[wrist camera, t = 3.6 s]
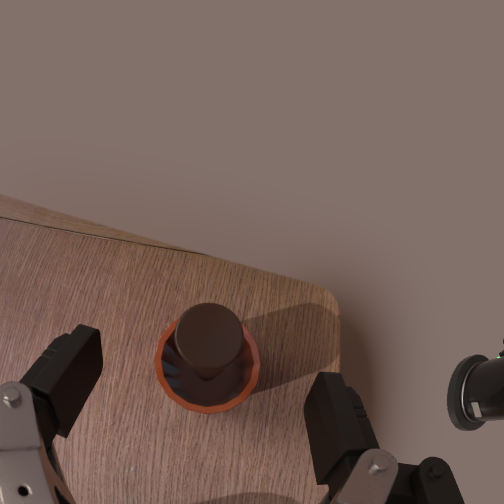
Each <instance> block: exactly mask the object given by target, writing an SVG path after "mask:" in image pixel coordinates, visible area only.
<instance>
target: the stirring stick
mask: <svg viewBox="0 0 504 504" xmlns="http://www.w3.org/2000/svg"><path fill="white" fill-rule="evenodd" d="M174 339H175V345H176V348H177V350H178V352H179V354H180V355H181V357H182V358H183V359H184V360H185V362H186V363H187V364H188V365H189V366H190V367H191V369H192V370H193V371H194V372H195V373H196V374H197V375H198V376H199V377H200V378H201V379H204V380H211V379H213V378H215V377H216V376H217V375H218V374H220V373H221V372H222V371H223V370H224V369H225V368H227V367H228V366H229V365H230V364H231V363H232V362H234V361H235V360H236V358H237V357H238V356H239V354H240V352H241V350H242V347H243V344H244V331H243V327H242V325H241V322H240V321H239V319H238V318H237V316H236V315H235V314H234V313H233V312H232V311H231V310H229V309H228V308H226V307H224V306H222V305H219V304H215V303H202V304H198V305H195V306H193V307H191V308H189V309H188V310H186V311H185V312H184V313H183V314H182V316H181V317H180V318H179V320H178V322H177V324H176V327H175V332H174Z"/></svg>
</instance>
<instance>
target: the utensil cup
mask: <svg viewBox="0 0 504 504" xmlns="http://www.w3.org/2000/svg"><path fill="white" fill-rule="evenodd" d="M178 320H179V319H177V320H176V321H174V322H172V323H171V324H170V325H169V326H168V328H167V329H166V330H165V332H164V333H163V334H162V335H161V337H160V338H159V340H158V344H157V348H156V352H155V356H154V363H155V369H156V375H157V379H158V381H159V383H160V384H161V386H162V388H163V389H164V391H165V392H166V394H167V395H168V396H169V398H171V399H172V400H173V401H175V402H176V403H178V404H179V405H181V406H182V407H183V408H185V409H187V410H191V411H195V412H199V413H204V414H212V413H218V412H224V411H228V410H230V409H232V408H233V407H235V406H237V405H238V404H240V403H241V402H243V401H244V400H246V399H247V397H248V396H249V394H250V393H251V391H252V390H253V389H254V387H255V386H256V384H257V382H258V377H259V372H260V366H261V360H260V355H259V351H258V346H257V343H256V341H255V340H254V338H253V337H252V335H251V334H250V333H249V331H248V330H247V328H246V327H245V326H244V325H242V324H241V325H242V327H243V331H244V344H243V347H242V350H241V352H240V354H239V356H238V357H237V358H236V360H235V361H234V362H232V363H231V364H230V365H229V366H228V367H227V368H225V369H224V370H223V371H222V372H221V373H220V374H218V375H217V376H216V377H215V378H213V379H211V380H204V379H201V378H200V377H199V376H198V375H197V374H196V373H195V372H194V371H193V370H192V369H191V367H190V366H189V365H188V364H187V363H186V362H185V360H184V359H183V358H182V357H181V355H180V354H179V352H178V350H177V348H176V345H175V339H174V332H175V327H176V324H177V322H178Z"/></svg>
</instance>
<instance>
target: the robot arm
mask: <svg viewBox="0 0 504 504" xmlns="http://www.w3.org/2000/svg"><path fill="white" fill-rule="evenodd" d="M503 344H504V340H503ZM499 355H500V357H498V358H495V359H492V360H488V361H484V362H478V363H475V364H473V365H472V366H471V367H470V368H469V369H468V370H467V372H466V373H465V375H464V378H463V380H462V384H461V388H460V408H461V411H462V414H463V416H464V417H465V419H466V420H467V421H469V422H480V421H494V420H504V350H503V351H502V352H500V353H499ZM102 368H103V356H102V347H101V336H100V331H99V330H98V329H95V328H92V327H89V326H85V325H82V324H79V325H78V326H77V327H76V328H75V329H74V331H73V332H72V333H71V334H67V333H65V334H63V335H61V336H59V337H57V338H56V339H54V340H53V342H52V343H51V344H50V345H49V346H48V347H47V349H46V350H45V351H44V352H43V353H42V356H40V357H39V358H38V359H37V360H36V362H35V363H34V364H33V365H32V367H31V368H30V369H29V370H28V371H27V373H26V374H25V375H24V376H23V378H22V379H21V380H20V381H19V382H15V381H11V382H6V383H4V384H2V385H1V386H0V502H1V504H76V502H75V500H74V498H73V496H72V494H71V493H70V491H69V489H68V486H67V484H66V481H65V478H64V475H63V472H62V469H61V466H60V463H59V460H58V457H57V453H56V450H55V446H54V443H53V439H54V437H55V436H56V434H57V435H60V436H62V437H64V438H66V439H67V437H68V435H69V433H70V431H71V429H72V427H73V425H74V423H75V421H76V419H77V417H78V415H79V413H80V412H81V410H82V408H83V406H84V404H85V402H86V400H87V399H88V397H89V395H90V393H91V391H92V390H93V388H94V386H95V384H96V382H97V381H98V379H99V377H100V375H101V372H102ZM304 417H305V422H306V427H307V433H308V438H309V444H310V449H311V454H312V460H313V466H314V471H315V477H316V482H317V485H324V484H328V487H329V491H328V492H327V493H326V495H325V496H324V498H323V499H322V501H321V502H320V503H319V504H465V503H464V501H463V498H462V496H461V493H460V491H459V488H458V486H457V483H456V481H455V478H454V476H453V473H452V471H451V469H450V467H449V465H448V464H447V463H446V462H445V461H444V460H442V459H440V458H437V457H428V458H426V459H424V460H423V461H422V462H421V463H420V464H419V465H410V464H402V463H397V461H396V459H395V458H394V457H393V455H392V454H390V453H389V452H387V451H385V450H382V449H380V448H379V445H378V442H377V440H376V437H375V434H374V432H373V429H372V427H371V424H370V421H369V419H368V418H367V414H366V411H365V409H364V406H363V404H362V401H361V399H360V396H359V395H358V394H357V393H356V392H355V391H354V390H353V389H352V387H346V386H345V383H344V380H343V378H342V375H341V374H340V373H332V372H319V373H318V375H317V377H316V379H315V381H314V383H313V385H312V388H311V390H310V392H309V394H308V396H307V398H306V401H305V405H304Z"/></svg>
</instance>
